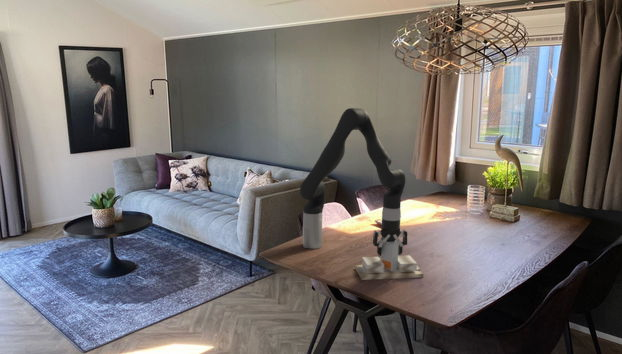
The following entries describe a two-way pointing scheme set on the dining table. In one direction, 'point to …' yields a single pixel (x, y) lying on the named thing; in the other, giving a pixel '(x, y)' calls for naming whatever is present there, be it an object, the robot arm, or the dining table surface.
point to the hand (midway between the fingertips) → (389, 254)
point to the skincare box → (390, 255)
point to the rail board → (376, 270)
